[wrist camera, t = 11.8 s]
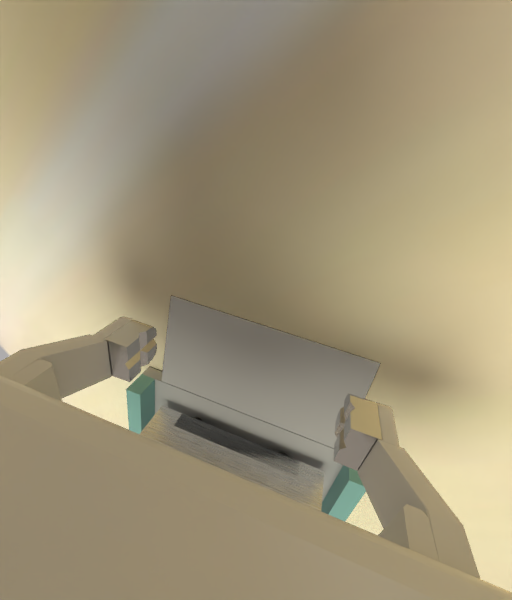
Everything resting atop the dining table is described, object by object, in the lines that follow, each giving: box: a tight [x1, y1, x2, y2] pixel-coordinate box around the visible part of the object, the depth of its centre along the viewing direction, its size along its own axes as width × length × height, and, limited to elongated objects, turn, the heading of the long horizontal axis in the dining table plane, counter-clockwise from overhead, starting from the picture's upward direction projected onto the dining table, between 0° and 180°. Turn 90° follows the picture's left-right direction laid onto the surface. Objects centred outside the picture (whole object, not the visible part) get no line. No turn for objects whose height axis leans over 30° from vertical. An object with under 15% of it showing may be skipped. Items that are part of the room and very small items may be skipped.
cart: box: [140, 405, 324, 511], centre depth 18 cm, size 9×11×4 cm
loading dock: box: [126, 296, 381, 521], centre depth 19 cm, size 19×15×4 cm
